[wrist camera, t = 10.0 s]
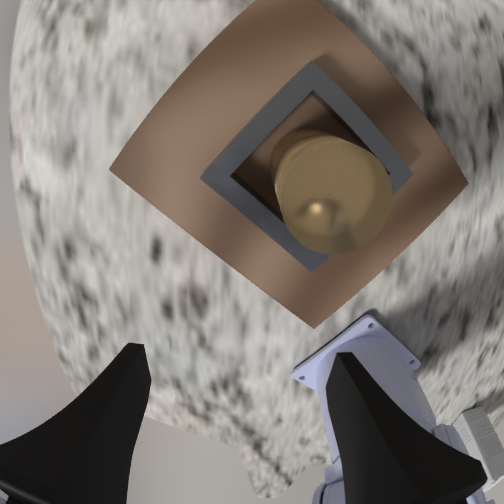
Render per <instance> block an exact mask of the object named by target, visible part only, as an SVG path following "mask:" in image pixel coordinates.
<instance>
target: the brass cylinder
mask: <svg viewBox="0 0 504 504" xmlns="http://www.w3.org/2000/svg"><path fill="white" fill-rule="evenodd" d="M269 168H270V174H271V178H272V181H273V185H274V188H275V192H276V195H277V199H278V202H279V206H280V209H281V213H282V216H283V219H284V222H285V224H286V226H287V228H288V230H289V232H290V233H291V234H292V236H293V237H294V238H295V239H296V240H297V241H298V242H299V243H301V244H302V245H303V246H305V247H307V248H309V249H310V250H313V251H315V252H319V253H323V254H344V253H348V252H351V251H354V250H356V249H359V248H360V247H362V246H364V245H365V244H367V243H368V242H370V241H371V240H372V239H373V238H374V237H375V236H376V235H377V234H378V233H379V232H380V230H381V229H382V228H383V226H384V224H385V223H386V221H387V218H388V216H389V213H390V210H391V205H392V186H391V181H390V178H389V176H388V173H387V171H386V169H385V167H384V166H383V165H382V163H381V162H380V161H379V160H378V159H377V158H376V157H375V156H374V155H373V154H372V153H370V152H369V151H367V150H365V149H363V148H362V147H359V146H357V145H355V144H353V143H351V142H348V141H346V140H344V139H341V138H339V137H337V136H334V135H332V134H330V133H327V132H325V131H323V130H320V129H316V128H300V129H296V130H293V131H291V132H289V133H287V134H286V135H284V136H283V137H282V138H281V139H280V140H279V141H278V142H277V144H276V145H275V147H274V149H273V151H272V153H271V157H270V164H269Z"/></svg>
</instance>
